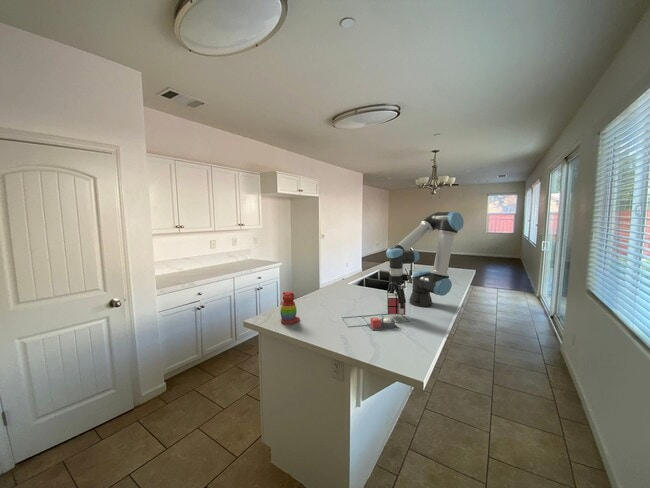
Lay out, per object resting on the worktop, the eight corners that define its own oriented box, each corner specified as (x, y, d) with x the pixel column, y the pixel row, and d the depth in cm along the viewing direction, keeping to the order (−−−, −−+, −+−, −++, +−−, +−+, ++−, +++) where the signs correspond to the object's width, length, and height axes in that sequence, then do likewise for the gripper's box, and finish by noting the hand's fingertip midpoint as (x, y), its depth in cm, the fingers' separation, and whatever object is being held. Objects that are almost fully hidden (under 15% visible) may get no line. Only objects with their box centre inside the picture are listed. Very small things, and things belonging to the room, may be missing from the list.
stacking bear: (300, 319, 159) (300, 290, 157) (293, 326, 149) (293, 295, 147) (284, 317, 162) (284, 288, 160) (276, 323, 153) (275, 293, 151)
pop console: (391, 322, 154) (391, 314, 153) (398, 328, 146) (398, 319, 145) (367, 325, 151) (367, 316, 150) (372, 330, 143) (372, 321, 142)
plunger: (389, 322, 151) (389, 317, 151) (393, 325, 147) (393, 320, 147) (381, 322, 150) (382, 318, 150) (385, 326, 146) (385, 321, 146)
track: (399, 313, 169) (399, 312, 169) (410, 321, 155) (410, 321, 155) (341, 317, 161) (341, 317, 161) (348, 327, 147) (348, 326, 147)
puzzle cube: (405, 315, 155) (405, 298, 153) (387, 314, 157) (387, 297, 156) (403, 308, 164) (403, 293, 163) (387, 308, 166) (387, 292, 165)
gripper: (381, 270, 169) (381, 303, 172) (400, 280, 145) (399, 317, 148) (392, 269, 170) (392, 302, 173) (412, 279, 147) (412, 316, 149)
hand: (395, 309), depth 160 cm, fingers closed on puzzle cube, 12 cm apart
